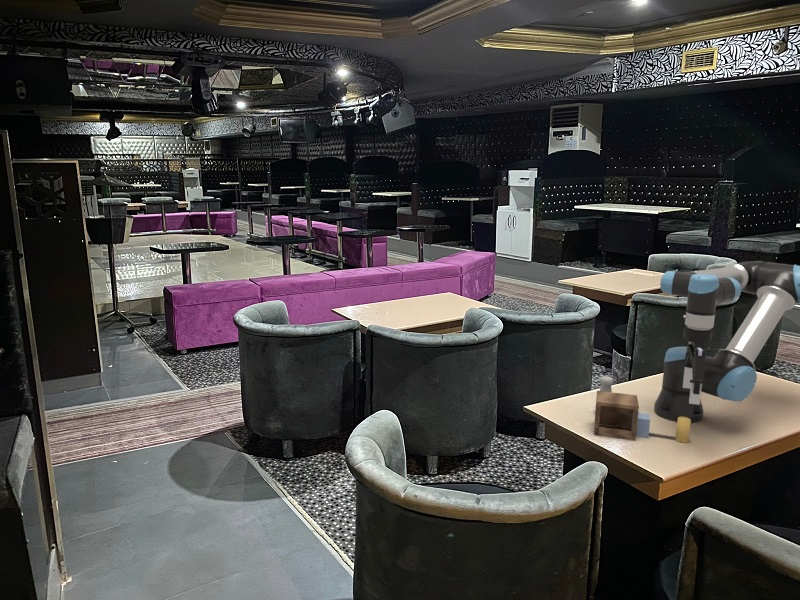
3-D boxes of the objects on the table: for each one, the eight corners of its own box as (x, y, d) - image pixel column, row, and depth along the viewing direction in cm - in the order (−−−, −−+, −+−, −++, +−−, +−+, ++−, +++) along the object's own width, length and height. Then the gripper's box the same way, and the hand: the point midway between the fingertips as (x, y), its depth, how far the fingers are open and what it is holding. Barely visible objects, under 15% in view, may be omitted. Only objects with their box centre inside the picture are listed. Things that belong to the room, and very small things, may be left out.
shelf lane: (633, 427, 190) (636, 395, 187) (635, 440, 180) (638, 406, 178) (594, 422, 193) (597, 390, 191) (594, 435, 184) (597, 401, 182)
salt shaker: (592, 410, 203) (595, 374, 201) (608, 409, 204) (611, 374, 201) (599, 417, 198) (602, 380, 195) (615, 416, 198) (619, 379, 196)
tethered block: (687, 438, 182) (690, 416, 181) (688, 444, 178) (691, 423, 176) (631, 429, 189) (633, 408, 187) (630, 435, 184) (632, 414, 183)
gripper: (679, 316, 186) (672, 380, 190) (690, 336, 163) (682, 409, 167) (705, 318, 184) (697, 383, 188) (721, 339, 161) (712, 412, 165)
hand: (690, 395), depth 178 cm, fingers open, 13 cm apart
